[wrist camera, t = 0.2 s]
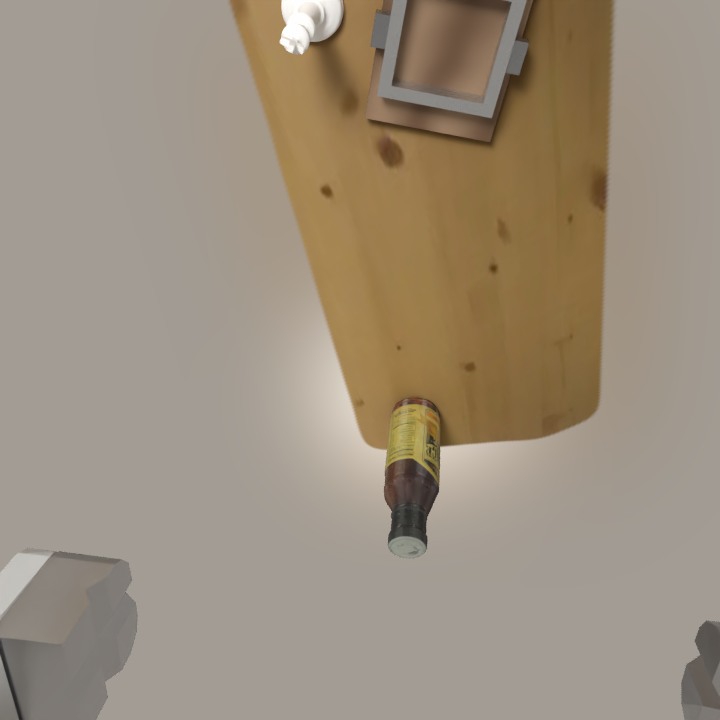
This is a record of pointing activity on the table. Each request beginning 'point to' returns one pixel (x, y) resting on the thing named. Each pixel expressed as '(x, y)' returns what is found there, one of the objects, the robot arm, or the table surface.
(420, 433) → the sauce bottle
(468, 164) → the table surface
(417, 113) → the socket board
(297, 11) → the chess piece
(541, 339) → the table surface
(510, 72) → the square frame tray
